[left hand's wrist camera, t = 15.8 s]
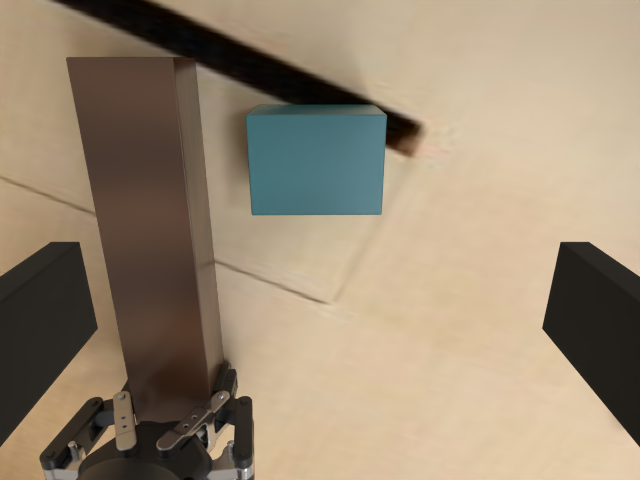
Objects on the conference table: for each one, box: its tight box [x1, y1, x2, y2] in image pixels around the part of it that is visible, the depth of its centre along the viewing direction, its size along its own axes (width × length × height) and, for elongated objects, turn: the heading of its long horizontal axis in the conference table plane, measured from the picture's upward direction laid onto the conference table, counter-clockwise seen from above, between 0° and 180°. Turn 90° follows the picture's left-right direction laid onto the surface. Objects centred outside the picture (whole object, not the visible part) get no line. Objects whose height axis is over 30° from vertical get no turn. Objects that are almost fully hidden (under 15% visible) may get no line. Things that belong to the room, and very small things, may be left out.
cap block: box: [246, 105, 387, 215], centre depth 29 cm, size 6×8×6 cm
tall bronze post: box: [66, 57, 224, 425], centre depth 33 cm, size 28×6×5 cm, turn 0°
